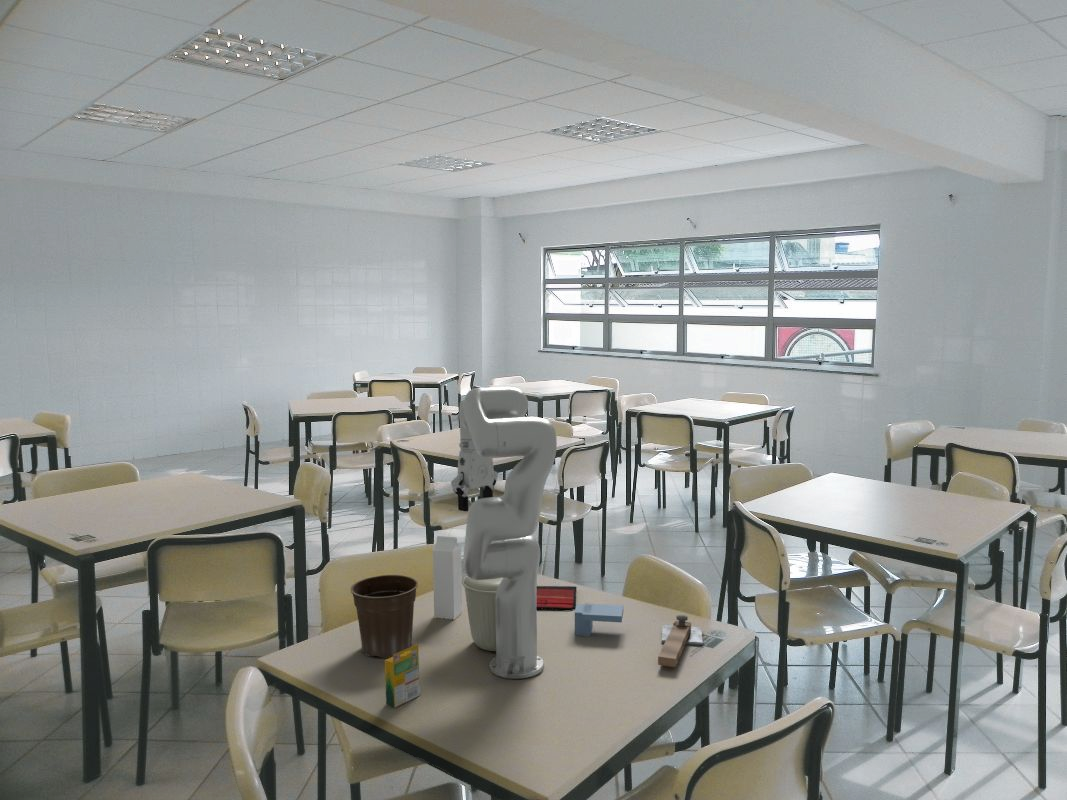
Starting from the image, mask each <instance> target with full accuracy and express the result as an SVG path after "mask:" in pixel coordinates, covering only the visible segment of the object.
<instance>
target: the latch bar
mask: <svg viewBox="0 0 1067 800" xmlns="http://www.w3.org/2000/svg"><path fill="white" fill-rule="evenodd" d="M688 619H689V618H688V616H687V615H685V614H678V615H676V620H675V621H674V622H673V623H672V626H673V627H672V629H671V631H670V633H669V635H668V637H667V639H666V641H665V643H663V646H662V648H661V650H660V652H659V653H658V656H657V664H658V666H664V667H671V668H676V667H677V664H678V662H679V660H680V657H681V655H682V653H683V650H684V648H685V646H686V645H685V643H686V641H687V639H688V636H689V634H690V633H691V627H692V622H690V621H689V622H688Z"/></svg>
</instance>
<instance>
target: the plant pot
mask: <svg viewBox="0 0 1067 800" xmlns="http://www.w3.org/2000/svg"><path fill="white" fill-rule="evenodd" d="M418 587H419V582H418V580H416V579H415V578H414V577H411V576H407V575H400V574H382V575H376V576H370V577H366V578H363V579H361V580H358V581H357V582H355V583H354V584H352V585H351V587H350V592H351V593H350V594H352V596H353V604H354V606H355V608H356V614H357V620H358V626H359V627H358V628H359V634H360V642H361V643H360V644H361V649H362V652H363V654H364V655H366V654H367V655H366V656H368V655H369V656H368V657H371V656H372V657H371V658H374V657H375V656H376V657H379V658H381V659H385V658H386V657H387V658H391V657H393V655H394V654H396V653H398V652H400V651H403V650H405V649H407V648H410V647H412V646H413V627H414V625H413V624H414V610H415V609H414V607H415V601H416V597H417V595H416V594H417V588H418Z"/></svg>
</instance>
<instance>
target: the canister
mask: <svg viewBox="0 0 1067 800" xmlns="http://www.w3.org/2000/svg"><path fill="white" fill-rule="evenodd" d="M502 579H503V578H495V579H487V580H474V579H471V578H470V577H469V576H468V575H467V574H466V575H465V576H464V577H463V578H462V587H464V593H465V601H466V609H467V615H468V622H469V623H468V624H469V628H470V629H469V630H470V635H471V639H472V641H473V643H474V644H475V645H476V646H477V647H478V648H480V649H482V650H484V651H489V652H496V615H495V596H496V591H497V588H498V586H499V584H500V582H501V581H502Z"/></svg>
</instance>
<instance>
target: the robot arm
mask: <svg viewBox="0 0 1067 800" xmlns="http://www.w3.org/2000/svg"><path fill="white" fill-rule="evenodd" d="M528 409H529V400H528V397H527V395H526V393H524V392H523V391H522V390H521V389H519V388H517V387H515V386H514V387H513V386H489V387H486V386H485V387H475V388H472V389H470V390H468V392H467V393H466V395H465V397H464V399H463V400H461V401H460V402H459V411H458V420H459V436H460V437H459V438H460V439H459V440H460V441H459V443H458V445H459V446H458V447H459V448H460V451H459V453H458V454H459V455H458V460H457V475H456V477H454V478H453V479H452V480H451V482H450V484H451V487H452V491H453V492H454V493H455V495H456V497H457V506H458V507H457V509H458V511H461V512H468V513H467V519H466V528H465V529H466V530H465V538H464V545H463V568H464V571H465V574H466V575H468V576H469V577H470V578H471V579H474V580H487V579H495V578H503V579H502V581H501V582H500V584H499V586H498V588H497V591H496V596H495V615H496V651H495V656H494V657H493V658H492V659H491V660H490V661H489V670H490V672H491V673H493V675H496V676H498V677H500V678H504V679H509V680H510V679H511V680H513V679H514V680H517V679H519V680H520V679H527V678H531V677H534V676H537V675H539V674H540V673H542V671H543V670H544V668H545V662H544V659H543V658H542V657H540V656H539V655H538V628H537V627H538V625H537V623H538V621H537V620H538V619H537V617H538V616H537V615H538V613H537V610H538V609H537V586H538V583H537V582H538V574H539V567H540V561H541V547H540V544H539V541H538V540H537V538H535V537H534V536H533V535H534V534H535V532H536V531H537V529H538V526H539V524H540V523H539V521H540V517H541V511H542V504H543V497H544V491H545V490H544V489H545V486H546V482H547V480H548V477H549V475H550V473H551V470H552V468H553V465H554V463H555V459H556V454H557V445H558V443H557V441H558V440H557V433H556V430H555V429H556V428H555V427H554V425H553V424H552V422H551V421H549V420H548V419H545V418H542V417H539V416H538V417H537V416H525V415H526V414H527V412H528ZM513 457H514V458H515V457H523V458H522V459H521V460H520V461H519V462H517V464H516V465H515V466H514V467H513V468H512V469H511V471H509V473H508V475H507V476H506V479H505V484H504V491H503V494H502V495H500V496H493V495H494V490H495V486H496V484H497V479H498V476H499V472H497V471H496V470H494V469H495V468H494V463H493V462H494V459H498V458H500V459H501V458H513ZM479 488H483V489H482V498H479V499H476V500H474V501H473V502H472V503H471V505H469V496H468V492H469V491H470V490H475V489H479ZM469 506H470V507H469Z"/></svg>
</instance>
